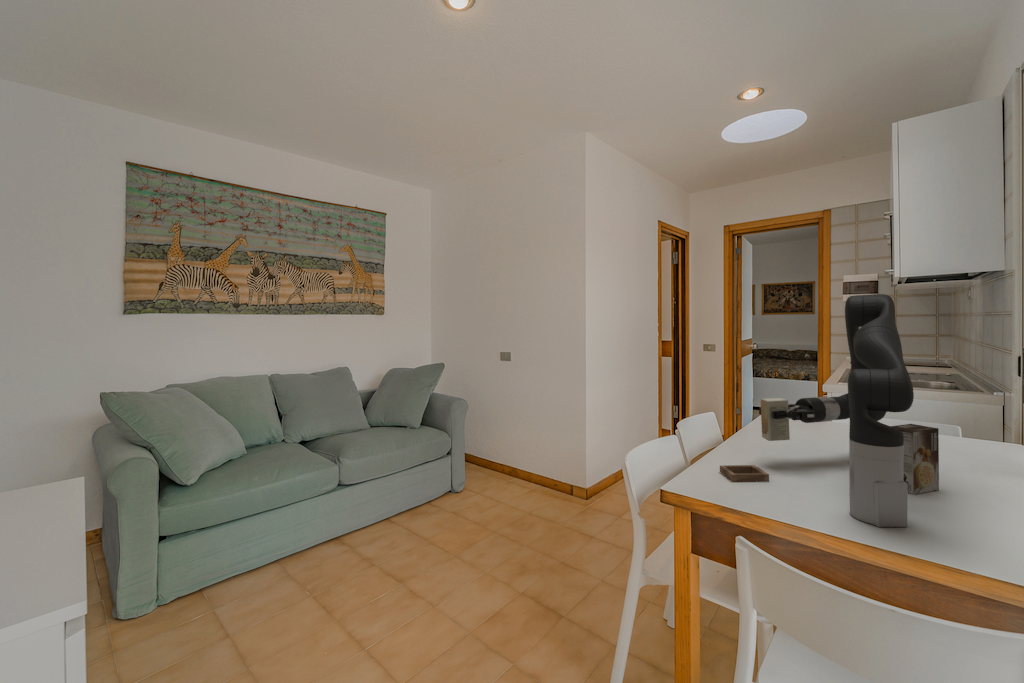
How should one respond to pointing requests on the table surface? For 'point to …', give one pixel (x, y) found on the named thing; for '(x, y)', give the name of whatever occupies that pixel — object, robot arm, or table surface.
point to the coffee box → (920, 457)
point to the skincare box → (774, 427)
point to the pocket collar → (744, 473)
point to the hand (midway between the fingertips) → (766, 413)
